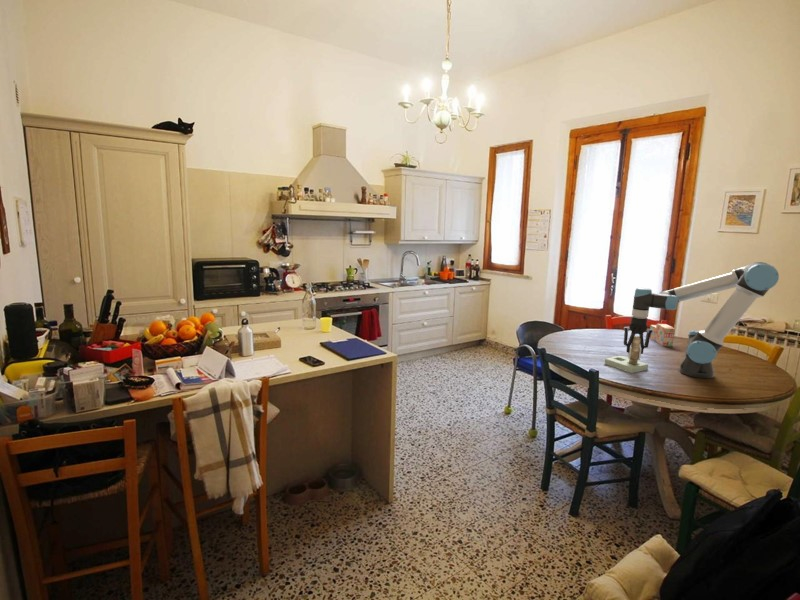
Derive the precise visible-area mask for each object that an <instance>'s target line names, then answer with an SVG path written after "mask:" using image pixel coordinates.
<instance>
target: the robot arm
mask: <svg viewBox="0 0 800 600" xmlns="http://www.w3.org/2000/svg"><path fill="white" fill-rule="evenodd" d="M779 277H780V274H779V271H778V270H777V268H775V266H773V265H771V264H768V263H767V262H763V261H756V262H751V263H749V264H747V265H744V266H742V267H738V268H735V269H732V271H731V272H729V273H725V274H721V275H718V276H715V277H710V278H708V279H707V278H706V279H703V280H701V281H697V282H693V283H690V284H686V285H681V286H679V287H675V288H672V289H669V290H668V289H667V290H662V291H660V292H659V293H656V292H655V293H653V292H652V291H653V290H652V289H651V288H646V287H637V288H635V291H634V296H633V302H632V303H633V304H632V311H631V318H630V324H629V325H628V326H624V327H623V330H624V336H623V345H624V346H626V353H627V358H628V359H630V357H631V349H632V347H631V344H632V341H633V338H634V336H636V335H638V336H639V337H640V338H641V341H640V348H639V355H638V361H640V360H641V356H642V355H643V354H644V350H645V349H647V348H649V343H650V339H651V338H650V334H651V333H652V330H651V329H650V328H648V326H647V325H648V317H649V312H650V308H652V309H653V308H655V309H662V310H667V311H669V310H670V311H675V310H676V309H677V307H678V303H681V302H684V301H688V300H692V299H696V298H699V297H704V296H706V295H711V294H715V293H719V292H723V291H726V290H727V291H728V290H731V289H734V288H735V290H734V291H733V293H731V295H730V296H729V298H728V299H727V300H726V301H725V302H724V304H723V305H722V307H721V308H720V309H719V311H718V312H717V313H716V314H715V315H714V317H713V318H712V319H711V321H710V322H709V323H708V325H707V326H706V327H705V328H704V329H702V330H690V331H689V332H688V335H687V337H688V338H687V344H686V351H685V356H684V359H683V360H682V362H681V364H680V365H679V368H678V369H679V370H678V371H679V372H680V373H681V374H683V375H686V376H690V377H693V378H699V379H713V378H715V377H714V376H715V369H714V366H713V361H714V360H715V359H716V358H717V354H718V352H719V351H720V350H721V348H723V346H724V345H725V344H724V339H725V338H726V336H727V335H729V333H730V332H731V331H732V329H733V328H734V327H735V326H736V324H738V322H739V321H740V319H741V318H742V317H743V316H744V315H745V313H746V312H747V311H748V310H749V308H750V307H751V306H752V305H753V304H754V303H755V301H756V300H757V299H758V298H764V296H765V295H766V294H767V293H768V291H769V290H770V289H772V288H773V287H775V286H776V285H777V284H778V282H779V280H780V279H779ZM629 331H631V333H630V336H628V335H629ZM645 332H646V335H645V340H644V333H645Z"/></svg>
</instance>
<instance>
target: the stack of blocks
mask: <svg viewBox="0 0 800 600" xmlns="http://www.w3.org/2000/svg"><path fill="white" fill-rule="evenodd" d="M649 329H651V330H652V333H651V334H650V339H651V340H653V341H654V342H655V343H657V344H658V345H661V346H662V347H673V344H674V339H675V334H676V328H674V327H673V326H671V325H669V324H667V323H656V324H650V325H649Z"/></svg>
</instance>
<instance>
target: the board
mask: <svg viewBox="0 0 800 600" xmlns="http://www.w3.org/2000/svg"><path fill="white" fill-rule="evenodd" d="M604 365H607V366H610V367H613V368H616V369H619V370H621V371H625V372H627V373H631V374H633V373H637V372H642V371H646V370H648V369H649V363H646V362H643V361H640V360H638V362H637V364H636V365H634V364H630V363H629V359H628V356H624V355H618V356H612V357H607V358H605V359H604Z"/></svg>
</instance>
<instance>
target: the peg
mask: <svg viewBox="0 0 800 600" xmlns="http://www.w3.org/2000/svg"><path fill="white" fill-rule="evenodd" d="M640 341H641V338H640V336H639V335H635V336H634V338H633V341H632V343H631V347H632V349H631V357H630V359H629V363H630V364H634V365H636V364H637V362H638V361H639V360H638V355H639V348H640V347H641V346H640Z"/></svg>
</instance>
